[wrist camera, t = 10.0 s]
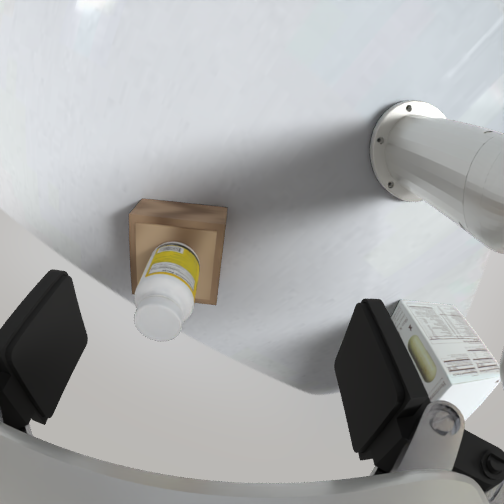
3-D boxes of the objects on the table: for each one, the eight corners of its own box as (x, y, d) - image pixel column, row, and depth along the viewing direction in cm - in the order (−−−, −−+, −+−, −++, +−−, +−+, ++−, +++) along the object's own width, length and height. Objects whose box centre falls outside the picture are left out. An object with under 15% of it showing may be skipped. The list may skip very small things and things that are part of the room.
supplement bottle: (176, 292, 34) (160, 356, 25) (141, 260, 32) (112, 318, 23) (211, 265, 32) (203, 328, 24) (175, 229, 30) (152, 284, 22)
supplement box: (399, 297, 43) (452, 383, 27) (455, 303, 44) (508, 374, 29) (365, 359, 48) (397, 443, 33) (421, 358, 50) (457, 429, 35)
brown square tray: (227, 207, 35) (225, 225, 30) (218, 281, 40) (216, 306, 35) (142, 198, 34) (128, 214, 29) (142, 272, 39) (131, 295, 34)
